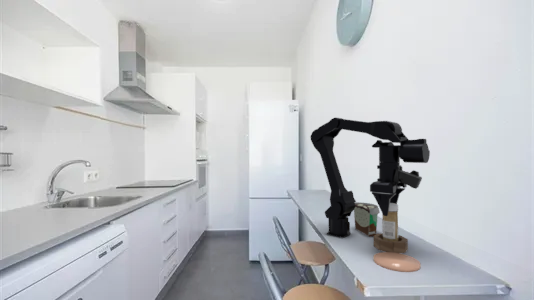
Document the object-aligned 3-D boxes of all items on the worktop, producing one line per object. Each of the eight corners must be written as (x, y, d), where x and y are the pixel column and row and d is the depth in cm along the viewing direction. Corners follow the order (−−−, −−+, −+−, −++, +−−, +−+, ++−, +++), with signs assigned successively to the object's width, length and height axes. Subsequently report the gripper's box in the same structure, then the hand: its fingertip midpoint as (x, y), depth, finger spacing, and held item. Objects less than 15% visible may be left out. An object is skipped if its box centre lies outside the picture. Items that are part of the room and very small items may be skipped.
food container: (387, 237, 88) (387, 208, 88) (371, 238, 87) (370, 208, 87) (367, 227, 100) (367, 201, 101) (353, 228, 99) (352, 202, 100)
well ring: (370, 248, 78) (370, 238, 78) (379, 240, 85) (379, 231, 85) (403, 255, 72) (403, 244, 72) (409, 246, 79) (409, 236, 79)
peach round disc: (367, 264, 66) (367, 261, 66) (380, 251, 75) (380, 249, 75) (416, 277, 59) (416, 273, 60) (423, 261, 68) (423, 258, 68)
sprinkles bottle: (401, 248, 78) (401, 203, 78) (393, 251, 75) (392, 205, 75) (387, 244, 81) (387, 201, 82) (379, 246, 79) (378, 203, 79)
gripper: (413, 163, 66) (413, 224, 66) (424, 161, 81) (424, 211, 81) (369, 162, 73) (369, 217, 73) (386, 161, 88) (386, 206, 88)
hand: (389, 212), depth 79 cm, fingers open, 9 cm apart
